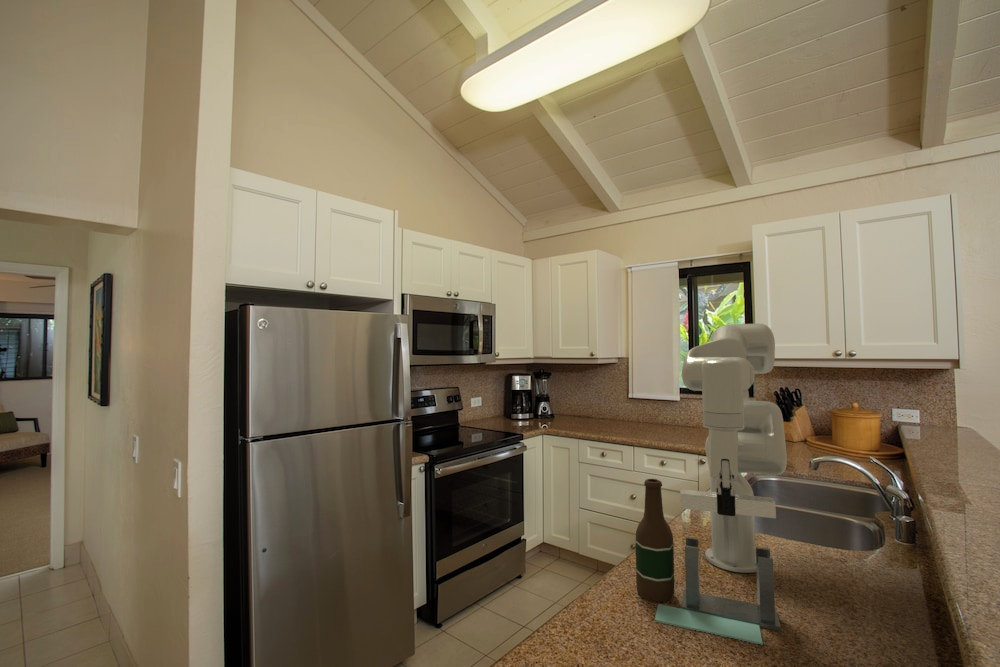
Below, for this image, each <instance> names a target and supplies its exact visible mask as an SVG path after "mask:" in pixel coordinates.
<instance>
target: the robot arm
mask: <svg viewBox="0 0 1000 667" xmlns="http://www.w3.org/2000/svg"><path fill="white" fill-rule="evenodd" d="M710 337H711V338H710V341H708V342H705V343H702V344H700V345H697V346H694V347H692V348H691V349H689V351H687V352H686V355H685V358H684V360H683V363H682V367H681V379H682V382H683V385H684V386H685V387H686V388H687V389H689V390H691V391H694V392H695V391H697V392H699V391H701V392H702V394H701V395H702V398H701V399H702V419H703V420H702V426H703V428H704V429H705V428H706V429H708V436H707V437H706V439H705V445H704V448H705V454H706V460H707V465H708V472H709V488H710V490H709V492H716V493H717V512H711V511H710V521H711V524H710V525H711V547H709V548H707V549H706V550H705V552H704V553H705V559H706V560H707V561H708V562H709V563H710V564H712V565H714V566H716V567H717V568H720V569H722V570H726V571H730V572H733V573H742V574H743V573H744V574H750V573H751V574H752V573H757V571H756V540H755V539H756V538H755V537H756V535H755V516H749V515H739V514H735V495H734V494H738V495H749V496H754V491H753V488H752V486H751V484H750V483H749V482H748V480H747V479H746V478H745V477H744V476H743V475H742V473H744V474H746V473H748V474H757V475H764V476H765V475H767V476H779V475H781V474H784V472H785V470H786V469H787V465H788V457H787V456H788V455H787V445H786V443H787V442H786V435H785V425H784V418H783V413H782V410H781V408H780V407H779V406H778V405H777V403H775V402H772V401H767V400H766V401H765V400H751V399H749V398H750V394H749V389H750V388H751V387H752V385H754V383H755V376H756V375H757V374H758V375H759V374H762V375H763V374H768V373H770V372H771V371H772V370H774V366H775V355H776V353H775V351H776V345H775V344H776V341H775V336H774V333H773V331H772V329H771V328H770V327H769V326H768V325H766V324H764V323H739V324H738V323H737V324H736V323H733V324H725V325H724V324H723V325H722V326H719V327H717V328H716V329H715V330H714V331H713V332H712V335H711V336H710ZM755 374H756V375H755Z"/></svg>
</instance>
